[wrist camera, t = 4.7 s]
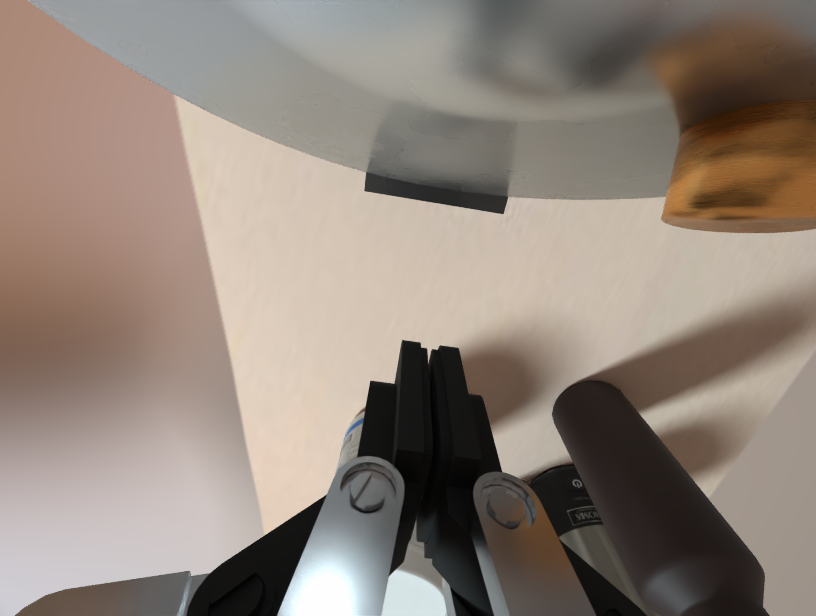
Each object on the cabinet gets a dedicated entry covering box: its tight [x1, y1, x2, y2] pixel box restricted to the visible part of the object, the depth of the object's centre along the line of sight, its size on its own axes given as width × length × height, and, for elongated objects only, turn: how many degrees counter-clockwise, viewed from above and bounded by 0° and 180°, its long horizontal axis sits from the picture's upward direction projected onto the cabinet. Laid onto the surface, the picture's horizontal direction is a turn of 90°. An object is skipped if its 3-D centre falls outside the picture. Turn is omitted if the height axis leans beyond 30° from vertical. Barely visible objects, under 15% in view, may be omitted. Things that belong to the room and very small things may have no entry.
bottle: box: [552, 381, 769, 616], centre depth 25 cm, size 7×7×20 cm
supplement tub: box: [335, 411, 447, 616], centre depth 29 cm, size 10×10×15 cm
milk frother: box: [529, 466, 659, 616], centre depth 34 cm, size 14×16×15 cm
